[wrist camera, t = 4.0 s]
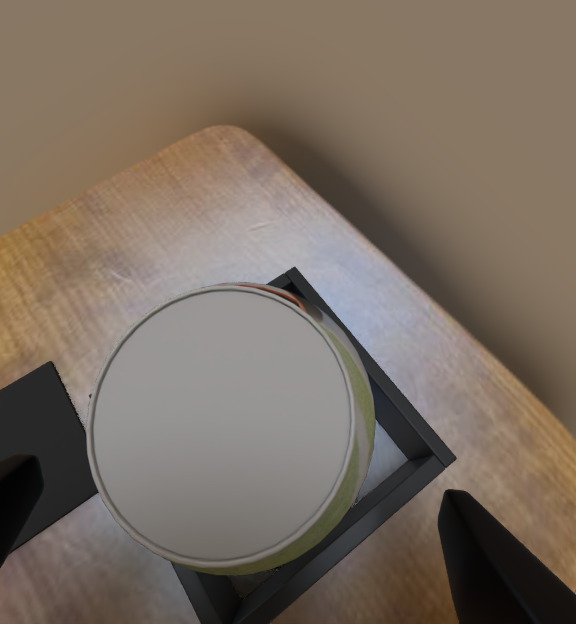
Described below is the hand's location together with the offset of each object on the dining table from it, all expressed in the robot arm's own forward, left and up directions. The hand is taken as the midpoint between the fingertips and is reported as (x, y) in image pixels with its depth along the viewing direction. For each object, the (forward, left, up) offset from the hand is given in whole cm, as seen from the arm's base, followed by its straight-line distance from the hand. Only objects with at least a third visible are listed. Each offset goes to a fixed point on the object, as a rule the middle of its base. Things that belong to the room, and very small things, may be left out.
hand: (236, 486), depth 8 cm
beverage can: (+2, -1, -10) cm, 10 cm away
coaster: (+8, +9, -9) cm, 15 cm away
